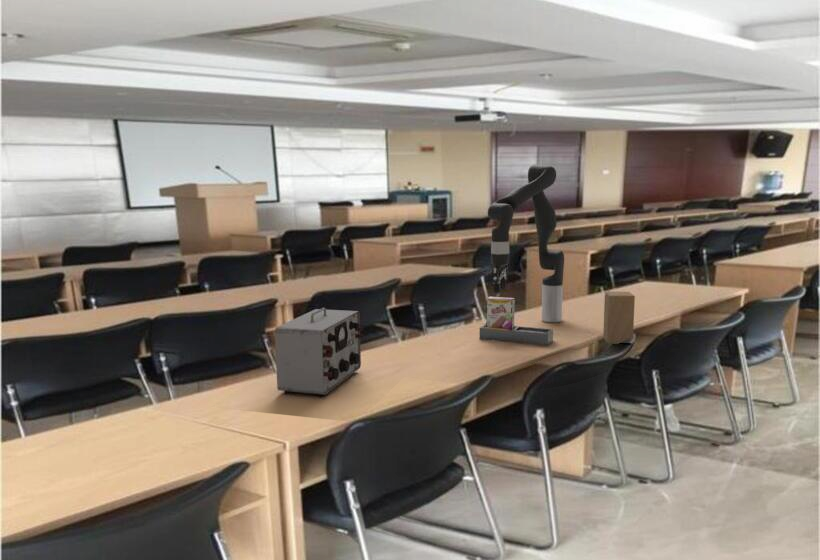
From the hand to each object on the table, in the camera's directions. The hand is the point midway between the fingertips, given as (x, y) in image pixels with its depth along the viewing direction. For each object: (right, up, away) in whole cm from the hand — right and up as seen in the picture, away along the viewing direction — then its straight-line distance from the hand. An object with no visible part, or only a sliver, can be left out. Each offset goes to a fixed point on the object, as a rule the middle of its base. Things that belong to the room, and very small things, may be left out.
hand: (499, 290), depth 277 cm
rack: (+7, -21, 0) cm, 22 cm away
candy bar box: (0, -19, +3) cm, 20 cm away
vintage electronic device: (-66, -30, -53) cm, 90 cm away
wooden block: (+48, -21, -4) cm, 52 cm away
